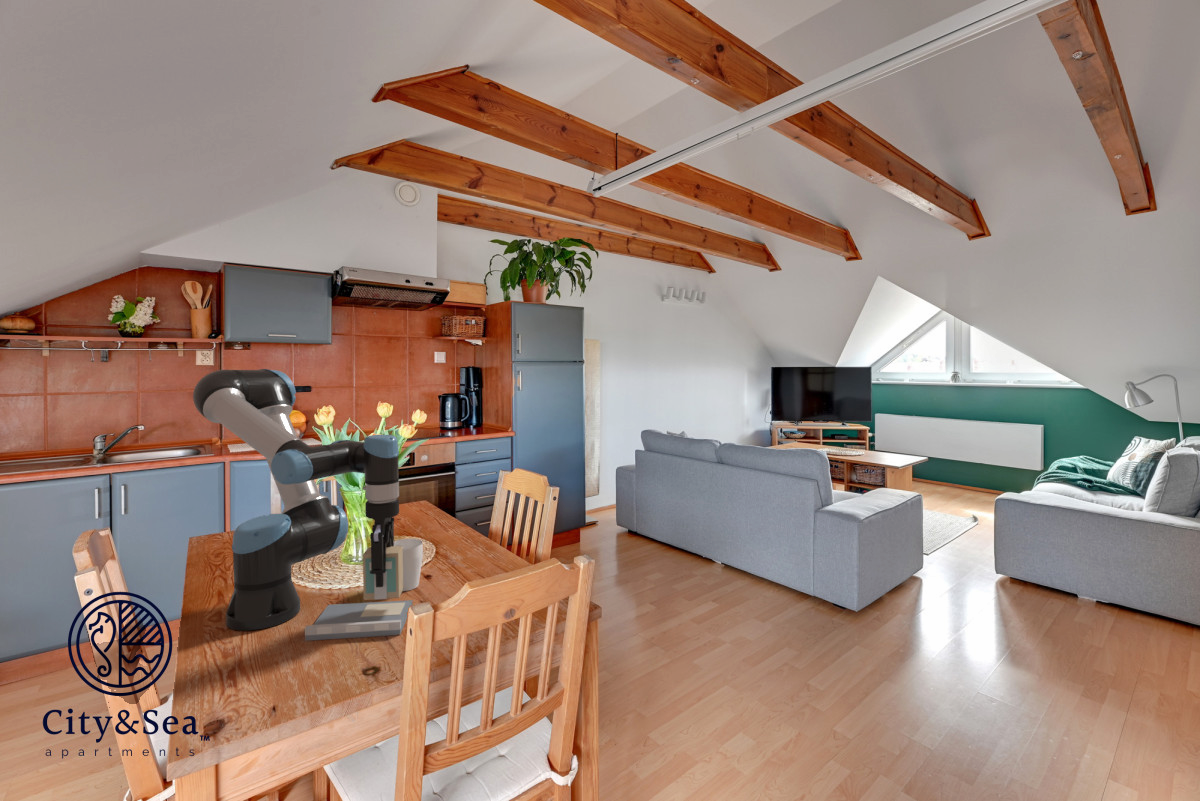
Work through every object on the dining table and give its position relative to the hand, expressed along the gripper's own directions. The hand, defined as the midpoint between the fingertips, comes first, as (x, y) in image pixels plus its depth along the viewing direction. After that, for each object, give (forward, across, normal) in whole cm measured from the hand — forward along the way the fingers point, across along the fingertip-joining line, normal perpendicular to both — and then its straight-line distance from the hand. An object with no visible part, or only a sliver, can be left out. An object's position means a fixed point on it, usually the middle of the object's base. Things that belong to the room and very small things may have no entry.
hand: (383, 593), depth 128 cm
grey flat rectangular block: (+5, +3, -4) cm, 7 cm away
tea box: (0, 0, 0) cm, 0 cm away
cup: (+6, -16, +2) cm, 17 cm away
